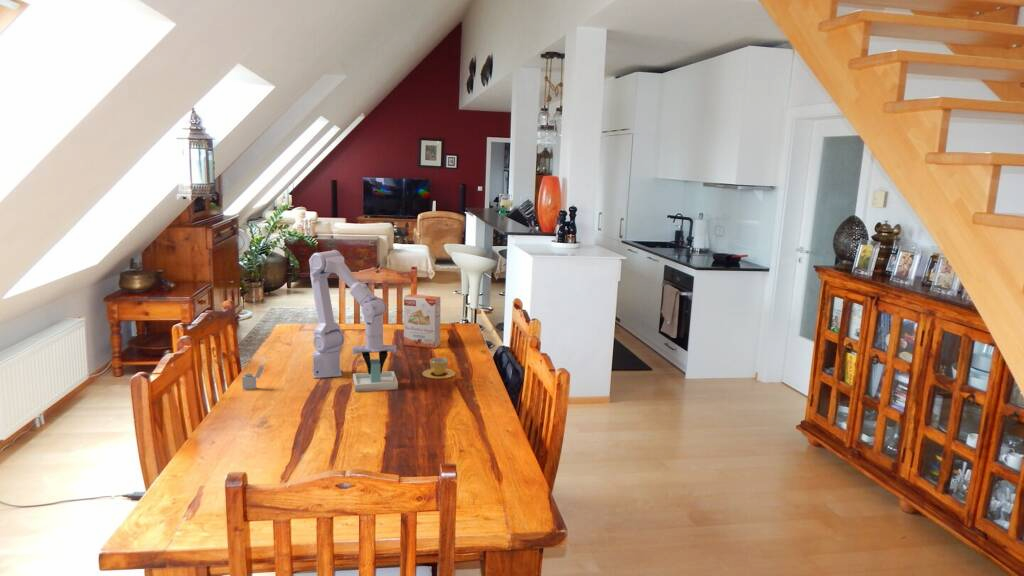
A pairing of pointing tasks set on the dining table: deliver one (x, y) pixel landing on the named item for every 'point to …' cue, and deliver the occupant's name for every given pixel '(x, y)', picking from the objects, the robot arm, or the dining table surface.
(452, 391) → the dining table surface
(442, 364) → the cup
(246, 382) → the lighter
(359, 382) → the tray
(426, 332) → the cracker box
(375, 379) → the teal block
